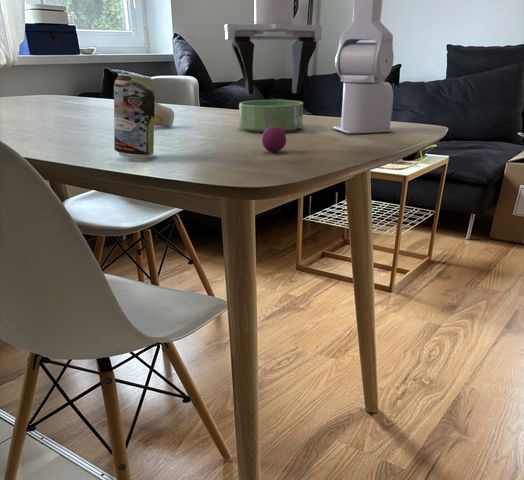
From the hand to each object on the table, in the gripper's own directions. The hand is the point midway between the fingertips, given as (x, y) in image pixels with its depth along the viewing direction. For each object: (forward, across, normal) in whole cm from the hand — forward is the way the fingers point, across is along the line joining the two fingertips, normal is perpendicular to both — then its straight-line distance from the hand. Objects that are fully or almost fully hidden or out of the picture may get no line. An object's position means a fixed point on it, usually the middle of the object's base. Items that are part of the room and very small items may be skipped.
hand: (273, 93), depth 81 cm
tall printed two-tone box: (+9, -22, +2) cm, 24 cm away
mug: (+9, -17, +37) cm, 41 cm away
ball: (+7, 0, 0) cm, 7 cm away
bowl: (+8, +7, +26) cm, 28 cm away
